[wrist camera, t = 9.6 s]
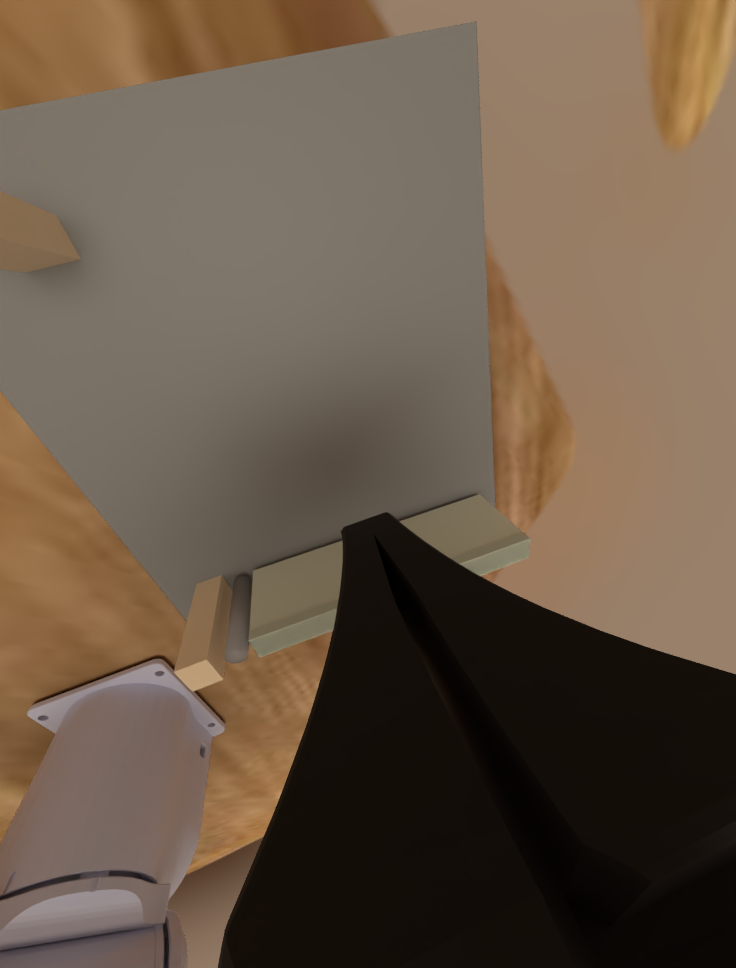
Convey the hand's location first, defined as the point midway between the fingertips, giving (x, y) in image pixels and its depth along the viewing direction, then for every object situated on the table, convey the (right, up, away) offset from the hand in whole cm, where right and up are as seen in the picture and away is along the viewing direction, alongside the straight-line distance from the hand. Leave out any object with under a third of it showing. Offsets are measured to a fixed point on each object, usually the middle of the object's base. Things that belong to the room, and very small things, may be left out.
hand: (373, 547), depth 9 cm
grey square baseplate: (-4, +5, +7) cm, 10 cm away
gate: (0, -2, +10) cm, 11 cm away
